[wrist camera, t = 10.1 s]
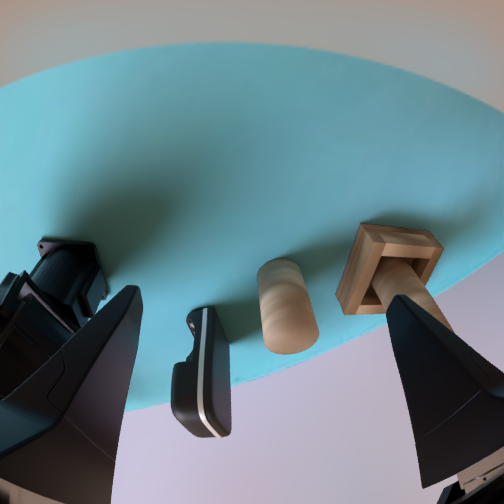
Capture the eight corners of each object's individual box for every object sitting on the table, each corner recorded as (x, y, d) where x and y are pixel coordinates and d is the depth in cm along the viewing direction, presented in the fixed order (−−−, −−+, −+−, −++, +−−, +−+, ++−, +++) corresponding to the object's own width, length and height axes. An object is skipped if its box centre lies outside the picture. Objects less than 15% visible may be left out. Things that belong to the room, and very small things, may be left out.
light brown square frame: (335, 294, 28) (343, 315, 25) (360, 223, 23) (373, 241, 21) (400, 294, 29) (410, 312, 26) (429, 231, 24) (444, 247, 22)
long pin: (359, 279, 26) (416, 403, 15) (384, 245, 24) (459, 367, 13) (388, 288, 27) (444, 399, 16) (411, 258, 25) (482, 366, 14)
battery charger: (176, 308, 27) (161, 416, 18) (213, 303, 27) (210, 415, 18) (197, 350, 31) (193, 443, 22) (230, 346, 31) (233, 442, 22)
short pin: (254, 292, 27) (260, 354, 21) (259, 257, 25) (268, 320, 19) (296, 293, 27) (311, 353, 22) (305, 259, 25) (325, 320, 19)
